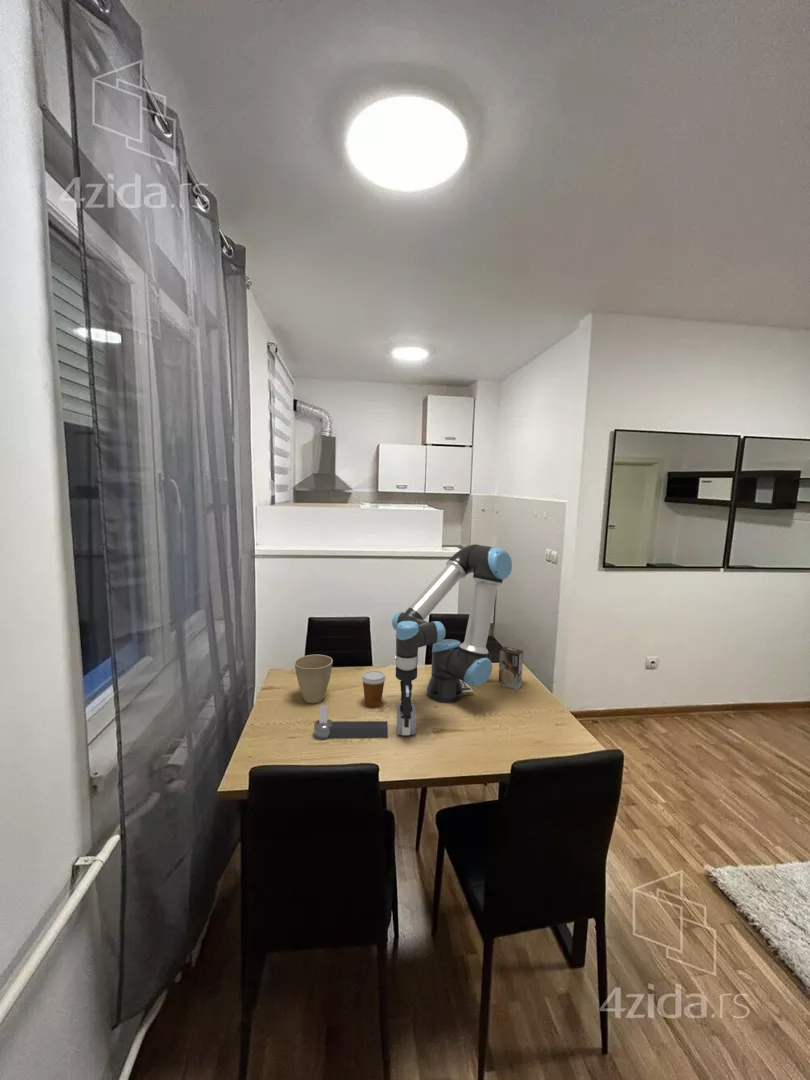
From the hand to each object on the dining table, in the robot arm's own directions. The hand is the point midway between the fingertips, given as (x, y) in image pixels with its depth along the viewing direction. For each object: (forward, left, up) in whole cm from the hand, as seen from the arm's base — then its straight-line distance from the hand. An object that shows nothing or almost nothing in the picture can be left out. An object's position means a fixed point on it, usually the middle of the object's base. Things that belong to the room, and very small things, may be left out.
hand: (405, 728), depth 154 cm
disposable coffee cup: (+11, -21, -1) cm, 24 cm away
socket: (0, 0, 0) cm, 0 cm away
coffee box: (-50, -38, -1) cm, 62 cm away
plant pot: (+35, -25, -1) cm, 43 cm away
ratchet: (+19, +1, -1) cm, 19 cm away
